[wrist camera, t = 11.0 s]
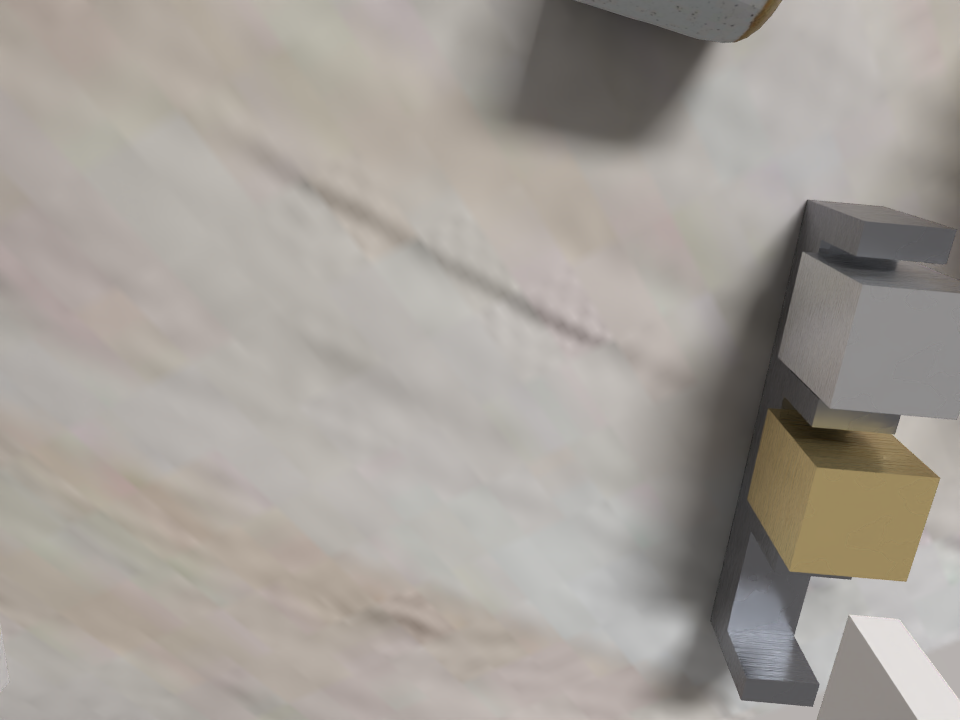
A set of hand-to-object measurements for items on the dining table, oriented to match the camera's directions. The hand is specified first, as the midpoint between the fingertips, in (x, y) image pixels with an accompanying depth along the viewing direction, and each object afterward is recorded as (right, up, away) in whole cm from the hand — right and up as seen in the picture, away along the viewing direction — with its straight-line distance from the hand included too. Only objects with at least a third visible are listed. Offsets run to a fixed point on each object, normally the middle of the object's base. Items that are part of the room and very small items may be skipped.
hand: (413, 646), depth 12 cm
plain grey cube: (+18, +7, +23) cm, 29 cm away
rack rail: (+17, +1, +28) cm, 32 cm away
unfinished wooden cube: (+17, 0, +25) cm, 31 cm away
